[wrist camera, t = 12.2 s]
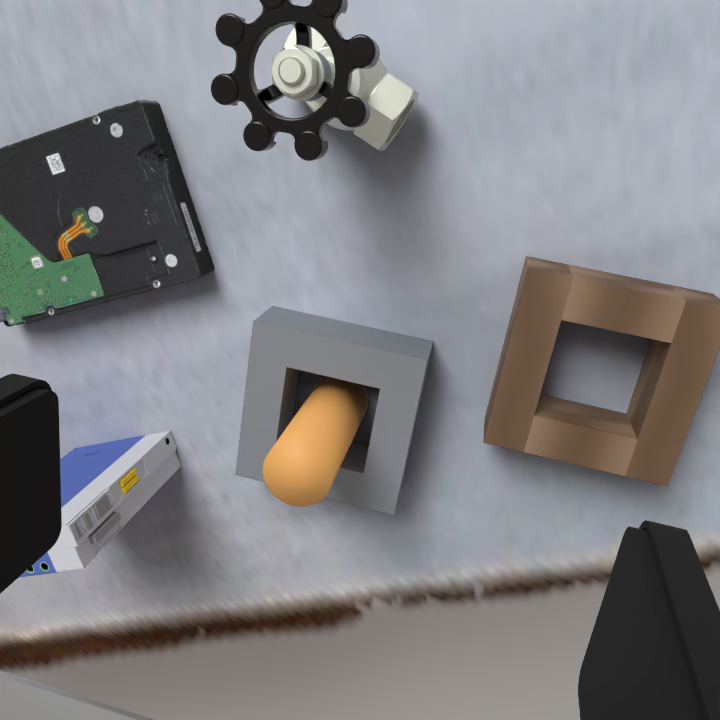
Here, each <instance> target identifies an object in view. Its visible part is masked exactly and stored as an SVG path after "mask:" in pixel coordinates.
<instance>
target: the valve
mask: <svg viewBox="0 0 720 720" xmlns="http://www.w3.org/2000/svg"><path fill="white" fill-rule="evenodd" d="M260 2H261V3H262V6H263V11H262V14H261V15H260V16H259V17H258V18H257V19H256V20H255V21H254V22H253V23H250V24H247V23H246V22H245V19H244V18H242V17H239V16H237V15H235V14H232V13H227V14H224V15H222V16H221V17H220V18H219V19H218V21H217V23H216V35H217V37H218V39H219V41H220V42H221V43H222V44H224V45H226V46H229V47H232V48H233V49H234V50H235V52H236V66H235V70H234V71H233V72H232V73H230V74H220V75H218V76H216V77H215V78H214V79H213V81H212V84H211V93H212V96H213V98H214V99H215V100H216V101H217V102H218V103H220V104H222V105H232V106H235V105H237V102H239V101H242V102H244V103H245V105H246V106H247V107H248V109H249V110H250V112H251V114H252V120H251V122H250V123H249V124H248V125H247V126H246V127H245V129H244V133H243V137H244V141H245V143H246V145H247V146H248V147H249V148H250V149H252V150H254V151H265V150H269V149H271V148H273V147H274V146H275V144H276V142H275V141H274V137H275V135H276V134H277V133H278V132H285V133H290V134H292V135H293V136H294V138H295V151H296V153H297V154H298V156H299V157H300V158H302V159H304V160H307V161H311V160H317V159H320V158H322V157H323V156H324V155H325V154H326V152H327V149H328V142H327V141H324V138H323V137H322V134H321V129H322V127H323V126H324V125H325V124H328V125H330V126H332V127H334V128H337V129H341V130H347V131H354V132H353V134H355V135H356V136H358V137H359V138H361V139H362V140H364V141H365V142H367V143H368V144H370V145H371V146H373V147H374V148H376V149H377V150H380V151H384V150H385V149H386V148H387V147H388V146H389V145H390V143H391V142H392V141H393V139H394V138H395V137H396V135H397V134H398V132H399V131H400V129H401V128H402V126H403V124H404V123H405V121H406V119H407V118H408V116H409V114H410V112H411V110H412V109H413V107H414V105H415V102H416V100H417V98H418V94H419V92H417V91H416V90H414V89H413V88H411V87H410V86H408V85H407V84H405V83H404V82H403V81H401V80H400V79H398V78H397V77H395V76H394V75H392V74H389V73H388V72H387V69H386V67H385V65H384V64H383V62H382V61H381V59H380V58H379V55H380V51H379V47H378V45H377V43H376V42H375V41H374V40H373V39H371V38H370V37H368V36H366V35H362V34H360V35H356V36H354V37H352V38H351V39H349V40H346V39H344V38H343V36H342V34H341V33H340V32H339V30H338V29H337V28H336V19H337V18H338V16H339V15H340V14H341V13H342V12H343V13H345V12H346V10H347V5H348V3H347V0H312V3H311V4H310V5H309V6H306V7H302V6H296V5H293V4H292V2H291V0H260ZM288 24H292V25H294V27H295V28H294V29H293V30H292V31H291V33H290V34H289V36H288V37H287V39H286V41H285V43H284V45H283V47H282V49H281V51H280V53H279V54H277V55H276V56H275V57H273V59H272V80H273V85H271V86H269V87H267V88H265V89H262V90H258V89H257V87H256V83H255V79H254V62H255V57H256V54H257V51H258V49H259V47H260V45H261V44H262V42H263V40H264V39H265V38H266V37H267V36H268V35H269V34H270V33H271V32H272V31H274V30H275V29H277V28H279V27H281V26H284V25H288ZM283 96H287V97H288V98H291V99H294V100H300V101H305V102H306V103H307V105H308V106H309V107H310V108H311V110H312V111H313V113H312V114H310V115H307V116H305V117H302V118H288V117H284V116H281V115H279V114H277V113H276V112H274V111H273V110H272V109H270V108H269V107H268V104H270V103H272V102H274V101H276V100H278V99H280V98H282V97H283Z"/></svg>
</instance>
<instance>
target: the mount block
mask: <svg viewBox="0 0 720 720" xmlns="http://www.w3.org/2000/svg"><path fill="white" fill-rule="evenodd" d="M561 320H564V321H569V322H574V323H578V324H583V325H588V326H592V327H597V328H602V329H607V330H611V331H616V332H621V333H626V334H630V335H635V336H640V337H644V338H649V339H652V340H651V343H650V345H649V348H648V351H647V354H646V357H645V360H644V363H643V366H642V369H641V372H640V375H639V378H638V381H637V384H636V387H635V390H634V393H633V396H632V399H631V402H630V405H629V408H628V411H627V414H625V413H620V412H616V411H612V410H607V409H603V408H598V407H594V406H590V405H585V404H581V403H576V402H572V401H567V400H563V399H559V398H554V397H550V396H545V395H541V394H540V393H541V390H542V386H543V383H544V379H545V376H546V372H547V369H548V365H549V362H550V358H551V355H552V351H553V348H554V344H555V341H556V337H557V334H558V330H559V327H560V323H561ZM719 348H720V299H719V298H718V297H716V296H715V295H714V294H711V293H706V292H701V291H696V290H691V289H686V288H681V287H676V286H671V285H666V284H661V283H656V282H651V281H647V280H642V279H637V278H632V277H627V276H622V275H617V274H612V273H607V272H602V271H597V270H592V269H587V268H582V267H577V266H572V265H567V264H562V263H557V262H552V261H547V260H542V259H537V258H532V257H527V256H526V259H525V263H524V267H523V271H522V275H521V279H520V283H519V287H518V290H517V294H516V298H515V302H514V306H513V310H512V314H511V318H510V322H509V326H508V329H507V333H506V337H505V341H504V345H503V349H502V353H501V357H500V361H499V365H498V368H497V372H496V376H495V380H494V384H493V388H492V392H491V396H490V400H489V404H488V407H487V411H486V415H485V425H484V442H483V443H488V444H492V445H496V446H500V447H504V448H509V449H513V450H517V451H521V452H525V453H530V454H534V455H538V456H542V457H546V458H551V459H555V460H559V461H563V462H567V463H572V464H576V465H580V466H584V467H588V468H593V469H597V470H601V471H605V472H609V473H614V474H618V475H622V476H626V477H630V478H635V479H639V480H643V481H647V482H651V483H656V484H660V485H664V486H668V484H669V481H670V478H671V476H672V473H673V470H674V468H675V465H676V462H677V460H678V457H679V454H680V452H681V449H682V446H683V444H684V441H685V438H686V436H687V433H688V431H689V428H690V425H691V423H692V420H693V417H694V415H695V412H696V409H697V407H698V404H699V401H700V399H701V396H702V393H703V391H704V388H705V385H706V383H707V380H708V377H709V375H710V372H711V370H712V367H713V364H714V362H715V359H716V356H717V354H718V351H719Z"/></svg>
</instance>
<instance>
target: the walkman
mask: <svg viewBox="0 0 720 720" xmlns="http://www.w3.org/2000/svg"><path fill="white" fill-rule="evenodd" d="M176 449H177V447H176V444H175V442H174V439H173V436H172V433H171V431H166V432H161V433H155V434H150V435H145V436H140V437H135V438H129V439H124V440H119V441H113V442H108V443H103V444H97V445H92V446H87V447H81V448H76V449H73V450H72V451H71V452H69V453H68V454H67V455H65V456H64V457H63V458H61V459H60V478H61V515H62V527H61V532H60V536H59V538H58V540H57V542H56V543H55V545H54V546H53V547H52V548H51V549H50V550H49V551H48V552H46V553H45V554H44V555H43V556H42V557H41V558H40V559H39V560H37V561H36V562H35V563H34V564H33V565H32V566H31V567H30V568H28V569H27V570H26V571H25V572H24V573H23V574H22V575H21V576H19V577H25V576H33V575H40V574H48V573H56V572H60V571H68V570H76V569H83V568H85V567H86V566H87V565H88V564H89V563H90V561H91V560H92V559H93V558H94V557H95V556H96V555H97V554H98V553H99V552H100V551H101V550H102V549H103V548H104V547H105V546H106V545H107V544H108V542H109V541H110V540H111V539H112V538H113V537H114V536H115V535H116V534H117V533H118V532H119V531H120V530H121V529H122V528H123V527H124V526H125V525H126V524H127V522H128V521H129V520H130V519H131V518H132V517H133V516H134V515H135V514H136V513H137V512H138V511H139V510H140V509H141V508H142V507H143V506H144V505H145V504H146V502H147V501H148V500H149V499H150V498H151V497H152V496H153V495H154V494H155V493H156V492H157V491H158V490H159V489H160V488H161V487H162V486H163V485H164V483H165V482H166V481H167V480H168V479H169V478H170V477H171V476H172V475H173V474H174V473H175V472H176V471H177V470H178V469H179V468H180V467H181V465H180V462H179V459H178V457H177V454H176V451H175V450H176Z"/></svg>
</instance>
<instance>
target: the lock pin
mask: <svg viewBox="0 0 720 720" xmlns="http://www.w3.org/2000/svg"><path fill="white" fill-rule="evenodd" d="M368 403H369V398H368V394H367V391H366V389H365V387H364V385H362V384H358V383H353V382H349V381H345V380H340V379H336V378H332V377H327V376H325V377H324V378H322V379H321V380H320V382H319V383H318V384H317V386H316V387H315V388H314V390H313V391H312V393H311V394H310V395H309V397H308V398H307V400H306V401H305V402H304V404H303V405H302V407H301V408H300V409H299V411H298V412H297V414H296V415H295V416H294V418H293V419H292V421H291V422H290V424H289V425H288V426H287V428H286V429H285V431H284V432H283V433H282V435H281V436H280V438H279V439H278V440H277V442H276V443H275V445H274V446H273V447H272V449H271V450H270V452H269V453H268V454H267V456H266V458H265V460H264V463H263V477H264V480H265V483H266V485H267V487H268V488H269V490H270V491H271V492H272V494H273V495H275V496H276V497H277V498H278V499H280V500H281V501H283V502H285V503H287V504H290V505H294V506H310V505H313V504H315V503H318V502H319V501H321V500H322V499H323V498H324V497H325V496H326V495H327V493H328V491H329V489H330V487H331V485H332V483H333V481H334V479H335V477H336V475H337V472H338V470H339V468H340V466H341V464H342V462H343V460H344V458H345V455H346V453H347V451H348V449H349V447H350V445H351V443H352V441H353V438H354V436H355V434H356V432H357V430H358V428H359V426H360V424H361V421H362V419H363V417H364V415H365V413H366V411H367V408H368Z"/></svg>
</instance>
